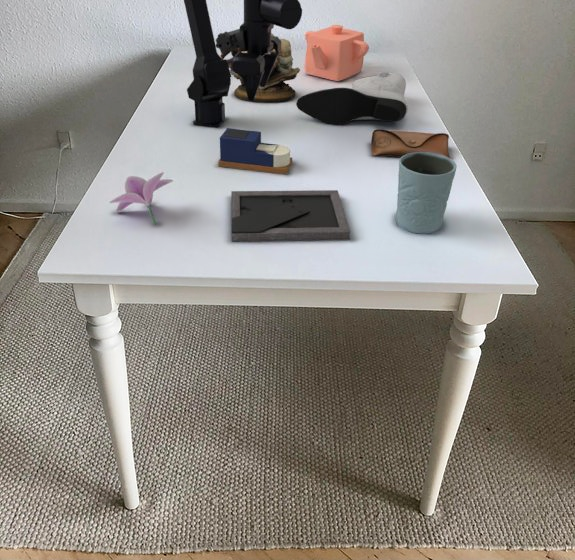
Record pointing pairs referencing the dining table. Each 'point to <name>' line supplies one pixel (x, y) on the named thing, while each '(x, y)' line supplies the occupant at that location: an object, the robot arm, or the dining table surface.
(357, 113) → the cowboy boot
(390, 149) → the sunglasses case
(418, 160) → the green embossed cup
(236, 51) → the pottery mug
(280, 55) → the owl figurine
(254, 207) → the picture frame
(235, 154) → the toy high-top shoe
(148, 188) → the lily
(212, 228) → the dining table surface
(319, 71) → the teapot
